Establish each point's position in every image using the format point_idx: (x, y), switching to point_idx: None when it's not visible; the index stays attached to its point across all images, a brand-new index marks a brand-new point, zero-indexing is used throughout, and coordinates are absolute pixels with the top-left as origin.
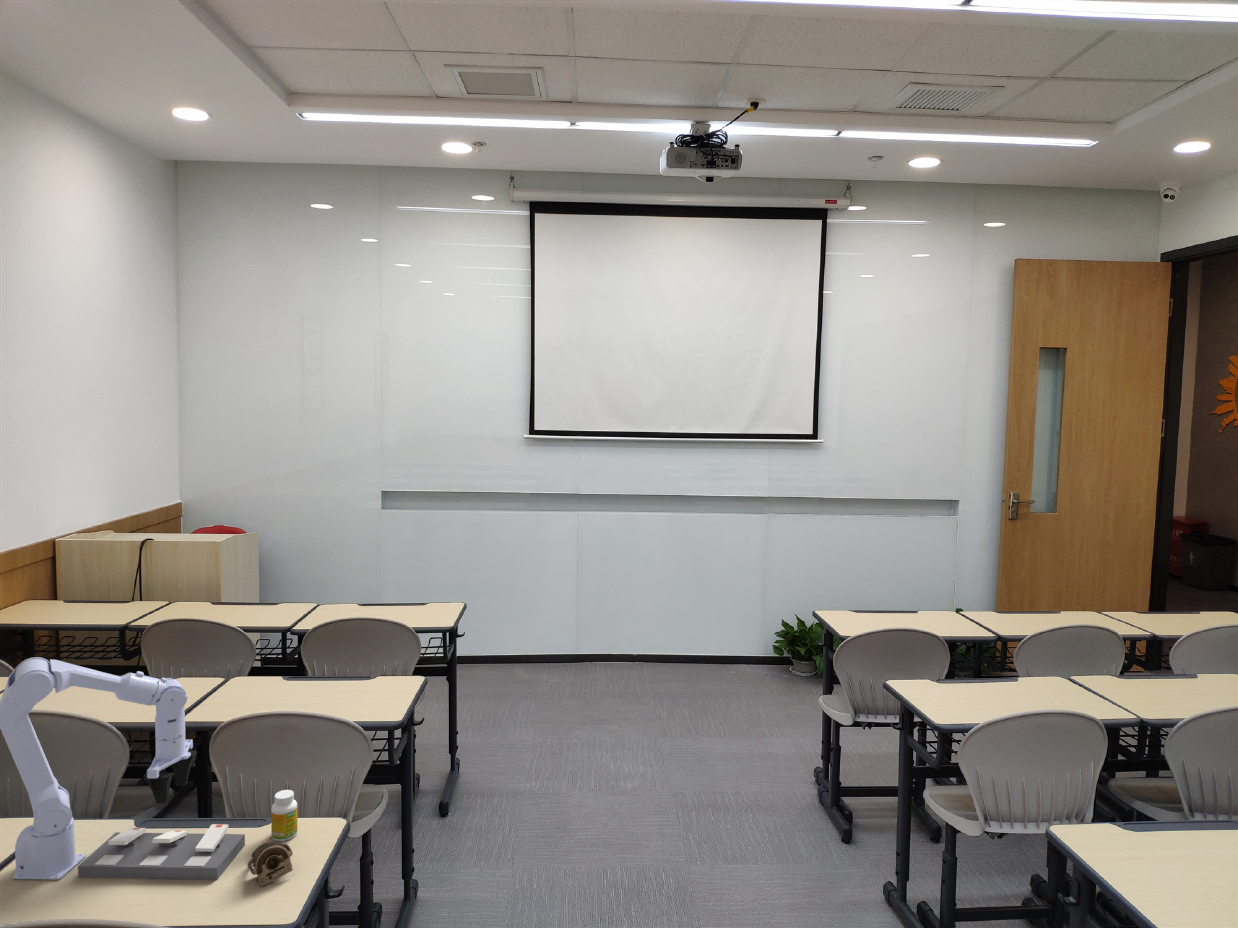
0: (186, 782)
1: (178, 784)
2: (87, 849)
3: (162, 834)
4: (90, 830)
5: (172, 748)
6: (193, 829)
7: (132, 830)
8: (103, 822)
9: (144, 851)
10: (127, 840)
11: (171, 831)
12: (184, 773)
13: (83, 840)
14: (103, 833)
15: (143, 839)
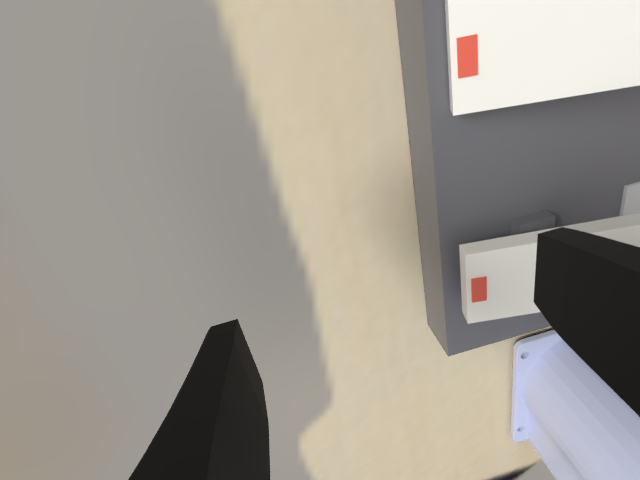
0: (213, 333)
1: (256, 369)
2: (470, 368)
3: (561, 95)
4: (368, 443)
5: None
6: (259, 95)
7: (502, 288)
8: (318, 450)
9: (598, 120)
10: (634, 223)
11: (474, 95)
12: (231, 432)
13: (423, 415)
14: (377, 402)
15: (494, 211)
